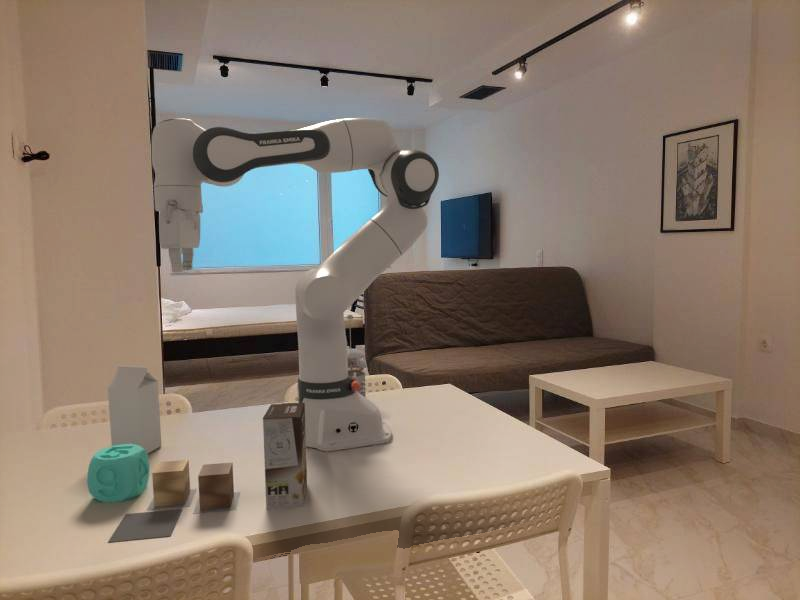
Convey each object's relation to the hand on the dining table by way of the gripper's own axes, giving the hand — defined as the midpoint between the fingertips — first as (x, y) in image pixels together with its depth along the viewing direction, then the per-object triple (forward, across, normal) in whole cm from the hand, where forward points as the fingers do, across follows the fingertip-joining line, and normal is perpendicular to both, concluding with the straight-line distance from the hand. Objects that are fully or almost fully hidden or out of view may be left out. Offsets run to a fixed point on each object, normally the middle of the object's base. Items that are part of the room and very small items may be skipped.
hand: (182, 271), depth 115 cm
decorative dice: (+40, -14, +10) cm, 44 cm away
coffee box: (+40, -22, -20) cm, 50 cm away
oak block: (+39, -19, 0) cm, 44 cm away
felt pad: (+40, -28, +2) cm, 49 cm away
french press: (+40, +37, -36) cm, 66 cm away
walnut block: (+39, -22, -8) cm, 46 cm away
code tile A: (+40, -22, -8) cm, 46 cm away
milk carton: (+40, +8, +13) cm, 43 cm away
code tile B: (+40, -19, 0) cm, 44 cm away
